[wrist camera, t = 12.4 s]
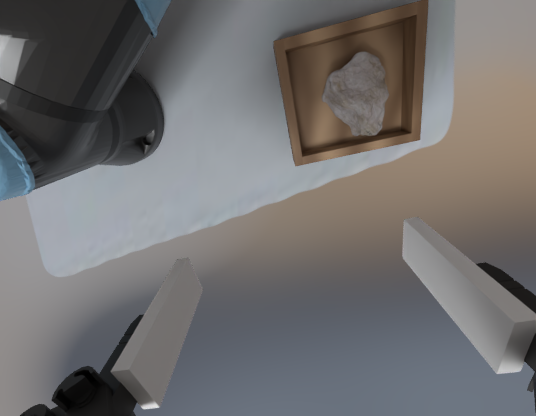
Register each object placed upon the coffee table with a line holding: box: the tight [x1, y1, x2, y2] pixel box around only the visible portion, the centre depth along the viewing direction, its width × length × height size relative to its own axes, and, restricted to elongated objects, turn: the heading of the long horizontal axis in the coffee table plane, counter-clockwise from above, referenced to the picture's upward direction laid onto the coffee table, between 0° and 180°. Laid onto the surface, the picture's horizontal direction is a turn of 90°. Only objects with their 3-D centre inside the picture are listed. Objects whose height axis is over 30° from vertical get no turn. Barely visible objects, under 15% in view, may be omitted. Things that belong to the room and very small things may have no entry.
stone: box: [322, 52, 389, 136], centre depth 31 cm, size 10×8×6 cm
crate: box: [274, 0, 428, 166], centre depth 32 cm, size 18×16×4 cm
